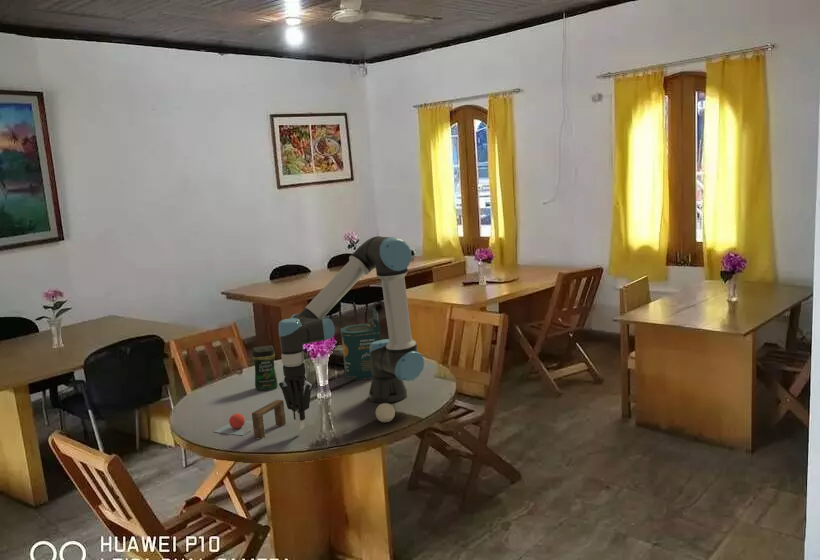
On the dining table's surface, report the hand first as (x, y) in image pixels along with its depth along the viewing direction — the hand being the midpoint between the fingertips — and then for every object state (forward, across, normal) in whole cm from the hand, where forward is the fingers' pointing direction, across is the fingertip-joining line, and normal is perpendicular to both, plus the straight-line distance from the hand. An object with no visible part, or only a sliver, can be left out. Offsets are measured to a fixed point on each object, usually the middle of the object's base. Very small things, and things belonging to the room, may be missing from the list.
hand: (300, 428), depth 245 cm
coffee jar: (+3, +46, -42) cm, 62 cm away
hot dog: (+3, +32, -82) cm, 88 cm away
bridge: (+2, +13, 0) cm, 13 cm away
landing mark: (+2, +27, 0) cm, 27 cm away
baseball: (+3, -24, -19) cm, 31 cm away
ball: (-1, +27, +1) cm, 27 cm away
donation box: (+3, +14, -70) cm, 71 cm away
